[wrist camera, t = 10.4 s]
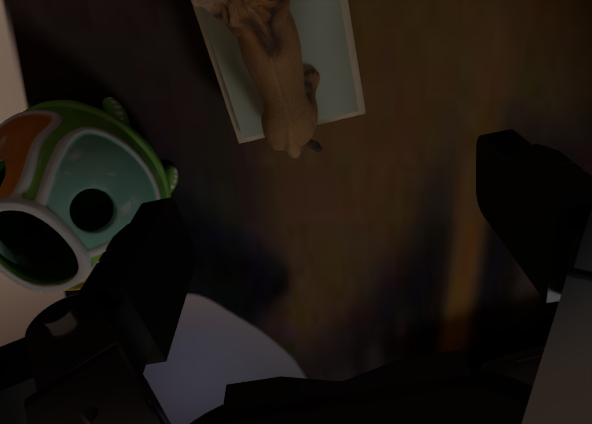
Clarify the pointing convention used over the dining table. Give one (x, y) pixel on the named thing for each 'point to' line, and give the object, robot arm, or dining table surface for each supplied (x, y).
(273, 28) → the lion figurine
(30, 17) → the dining table surface
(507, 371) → the bluetooth speaker
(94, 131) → the turtle holder
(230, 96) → the plinth
